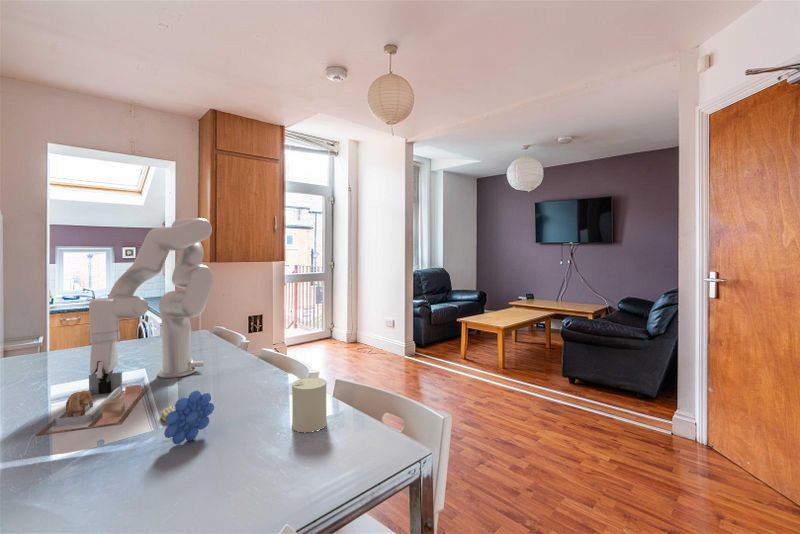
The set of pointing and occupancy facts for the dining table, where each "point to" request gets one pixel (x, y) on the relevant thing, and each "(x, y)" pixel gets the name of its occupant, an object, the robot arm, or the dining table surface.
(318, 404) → the can
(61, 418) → the grey long open box
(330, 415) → the dining table surface
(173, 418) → the grapes
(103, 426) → the lane rails
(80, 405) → the lion figurine
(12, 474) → the dining table surface
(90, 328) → the robot arm
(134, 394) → the broken strip
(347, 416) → the dining table surface
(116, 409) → the cube
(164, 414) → the decorated donut
